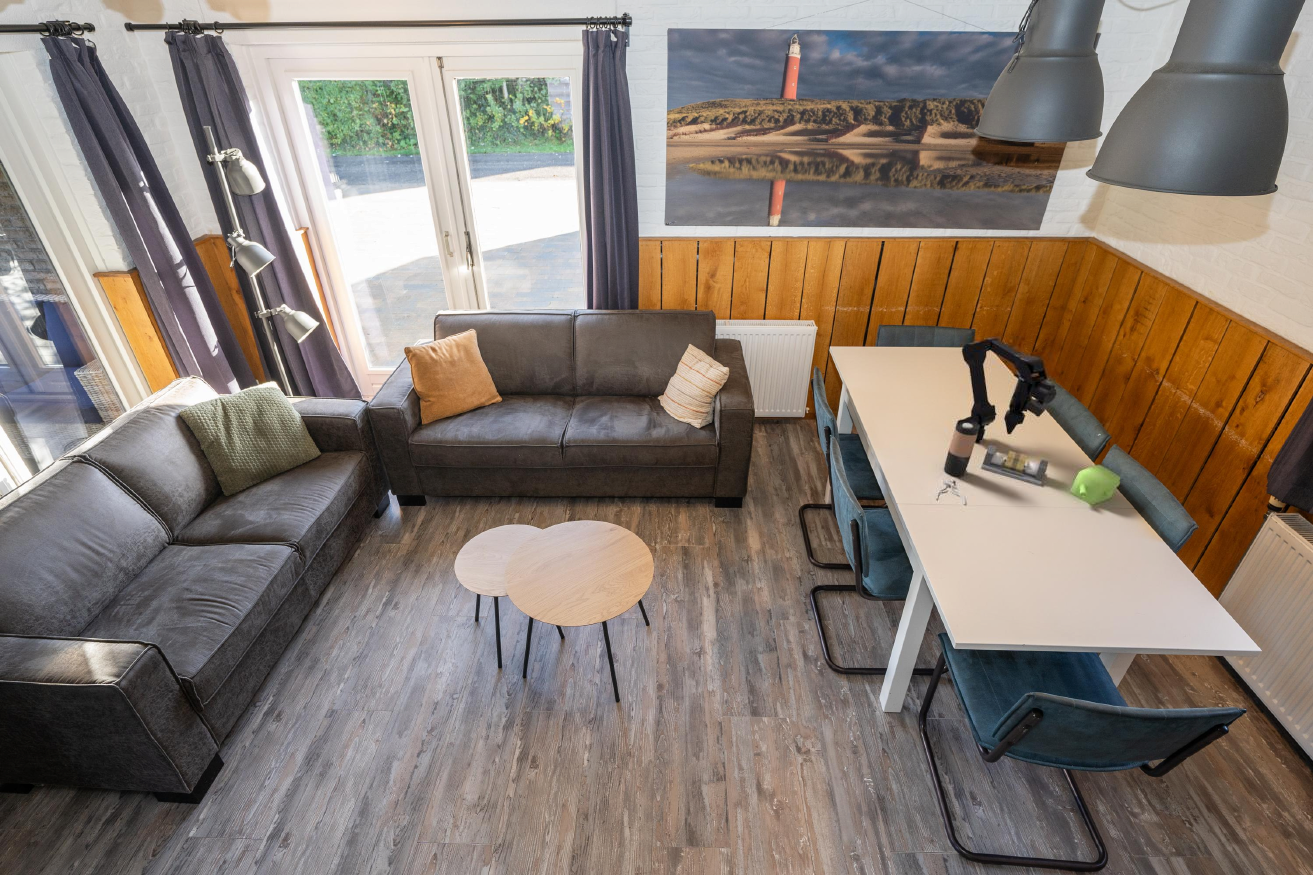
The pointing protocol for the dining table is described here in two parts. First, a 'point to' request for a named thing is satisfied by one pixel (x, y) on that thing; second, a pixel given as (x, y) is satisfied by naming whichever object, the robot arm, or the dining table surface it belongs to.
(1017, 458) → the banded gold block
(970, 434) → the travel mug
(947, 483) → the white thin branched piece
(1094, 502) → the green lump
